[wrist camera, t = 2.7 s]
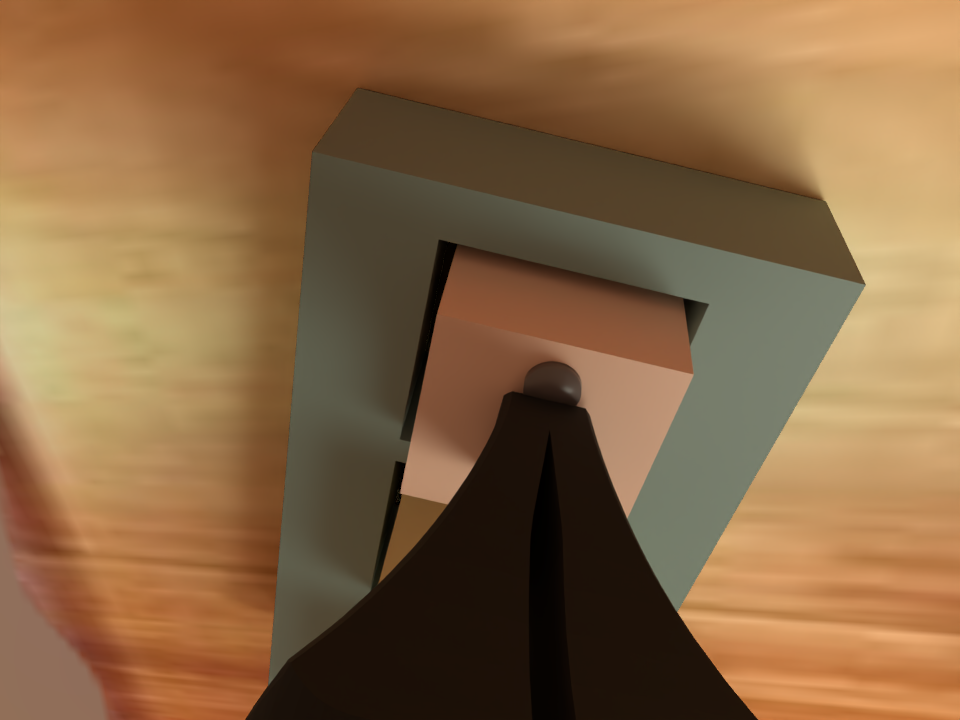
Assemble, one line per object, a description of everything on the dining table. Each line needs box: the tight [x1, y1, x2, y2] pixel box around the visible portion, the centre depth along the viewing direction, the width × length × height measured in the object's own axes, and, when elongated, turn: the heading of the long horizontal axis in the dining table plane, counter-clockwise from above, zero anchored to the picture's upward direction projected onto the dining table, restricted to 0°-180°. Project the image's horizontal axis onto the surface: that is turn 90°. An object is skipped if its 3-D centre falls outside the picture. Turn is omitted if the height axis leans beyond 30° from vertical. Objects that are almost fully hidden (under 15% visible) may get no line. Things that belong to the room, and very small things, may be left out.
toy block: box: [400, 244, 694, 518], centre depth 16 cm, size 4×4×5 cm
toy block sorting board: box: [268, 88, 866, 686], centre depth 19 cm, size 17×9×3 cm, turn 168°
